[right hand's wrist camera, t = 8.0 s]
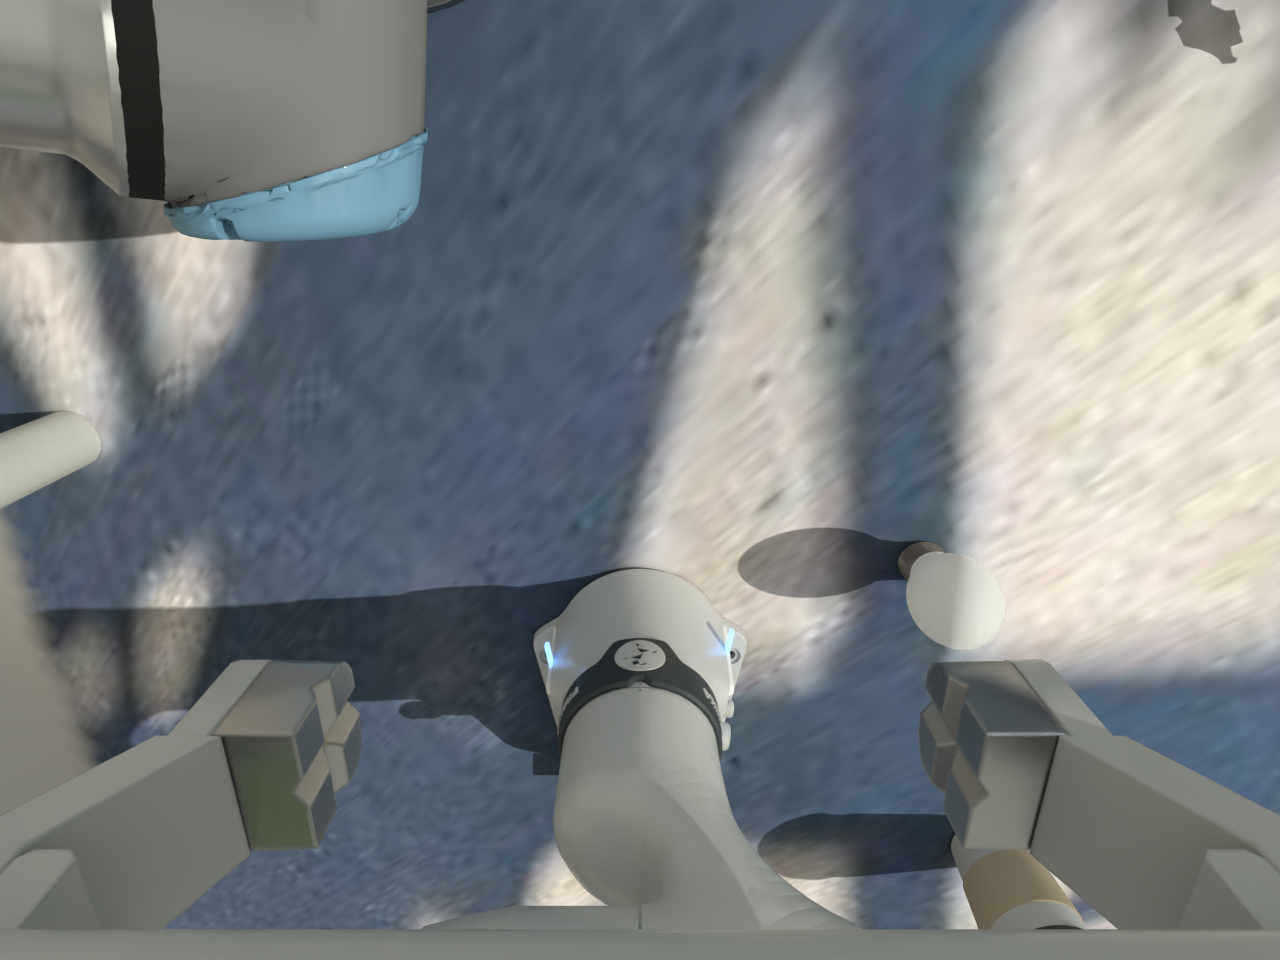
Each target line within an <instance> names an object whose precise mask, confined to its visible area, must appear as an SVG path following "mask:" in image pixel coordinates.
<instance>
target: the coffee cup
mask: <svg viewBox="0 0 1280 960" xmlns="http://www.w3.org/2000/svg"><path fill="white" fill-rule="evenodd" d="M951 851H952V854H953V857H954V860H955V862H956V865H957V867H958V870H959V873H960V875H961V878H962V881H963V888H964V891H965V894H966V896H967V899H968V902H969V904H970V907H971V910H972V913H973V915H974V918H975V921H976V923H977V926H978V929H979V930H1088V929H1087V928H1086V926H1085V925H1084V923H1083V920H1082V918H1081V916H1080V915H1079V913H1078V912H1077V910H1076V909H1075V907H1074V906H1073V905H1072V903H1071V902H1070V900H1069V899H1068V897H1067V896H1066V894H1065V893H1064V892H1063V890H1062V889H1061V887H1060V886H1059V884H1058V883H1057V882H1056V880H1055V879H1054V877H1053V876H1052V874H1051V873H1050V872H1049V870H1048V869H1047V868H1046V867H1044V866H1043V865H1042V864H1041V863H1040V862H1039V861H1037V860H1036V859H1035V858H1034V857H1033V856H1032V855H1030V854H1029V853H1030V850H994V849H963V848H962V846H961V844H960V842H959V840H958V838H957V836H956V834H955V836H954V837H953V840H952V843H951Z"/></svg>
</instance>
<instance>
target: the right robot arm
mask: <svg viewBox="0 0 1280 960" xmlns="http://www.w3.org/2000/svg"><path fill="white" fill-rule="evenodd" d="M533 647H534V650H535V654H536V657H537V661H538V664H539V667H540V671H541V674H542V678H543V681H544V684H545V688H546V693H547V695H548V698H549V701H550V705H551V708H552V712H553V715H554V718H555V722H556V725H557V735H558V754H559V759H560V769H559V777H558V784H557V791H556V799H555V806H554V814H553V830H554V836H555V840H556V844H557V847H558V850H559V852H560V854H561V856H562V858H563V860H564V861H565V863H566V865H567V866H568V868H569V870H570V871H571V872H572V874H573V875H574V877H575V878H576V879H577V881H578V882H579V883H580V884H581V885H582V887H583V888H584V889H585V890H586V891H587V892H589V893H590V894H591V895H593V896H594V897H595V898H597V899H598V900H600V901H602V902H603V903H605V904H606V905H608V906H510V907H505V908H500V909H495V910H491V911H486V912H481V913H476V914H471V915H467V916H463V917H459V918H455V919H451V920H447V921H443V922H439V923H435V924H431V925H427V926H424V927H423V928H421V929H317V930H231V929H163V928H164V927H165V926H166V925H168V924H169V923H170V922H171V921H172V920H174V919H175V918H176V917H177V916H178V915H179V914H181V913H182V912H183V911H184V910H185V909H186V908H188V907H189V906H190V905H191V904H192V903H194V902H195V901H196V900H197V899H198V898H199V897H201V896H202V895H203V894H204V893H205V892H206V891H208V890H209V889H210V888H211V887H212V886H214V885H215V884H216V883H217V882H218V881H219V880H221V879H222V878H223V877H224V876H225V875H226V874H228V873H229V872H230V871H231V870H232V869H234V868H235V867H236V866H237V865H238V864H239V863H241V862H242V861H243V860H244V859H245V858H246V857H248V856H249V855H250V850H284V849H317V848H318V846H319V844H320V842H321V840H322V838H323V836H324V834H325V832H326V830H327V828H328V826H329V824H330V822H331V820H332V818H333V816H334V814H335V812H336V810H337V804H336V799H335V793H336V792H337V791H339V790H340V789H341V788H343V787H344V786H346V785H347V784H348V783H350V781H351V778H352V776H353V774H354V772H355V770H356V768H357V765H358V760H359V755H360V751H361V746H362V725H361V719H360V713H359V712H358V711H357V710H356V709H355V708H354V707H353V706H352V705H351V704H350V703H349V702H348V699H349V697H350V695H351V693H352V692H353V690H354V688H355V683H354V679H353V674H352V669H351V666H350V665H348V664H347V663H346V662H345V661H312V660H238V661H235V662H232V663H230V664H229V665H228V667H227V668H226V669H225V670H224V671H223V672H222V674H221V675H220V676H219V677H218V678H217V679H216V680H215V682H214V683H213V684H212V685H211V686H210V687H209V689H208V690H207V691H206V692H205V693H204V694H203V695H202V697H201V698H200V699H199V700H198V701H197V702H196V703H195V705H194V706H193V707H192V708H191V709H190V710H189V712H188V713H187V714H186V715H185V716H184V717H183V718H182V720H181V721H180V722H179V723H178V724H177V725H176V726H175V728H174V729H173V730H172V731H171V732H170V733H169V735H168V736H154V737H152V738H150V739H149V740H147V741H145V742H143V743H141V744H139V745H137V746H135V747H133V748H131V749H129V750H127V751H125V752H123V753H121V754H119V755H117V756H115V757H113V758H111V759H109V760H107V761H105V762H104V763H102V764H100V765H98V766H96V767H94V768H92V769H90V770H88V771H86V772H84V773H82V774H80V775H78V776H76V777H74V778H72V779H70V780H68V781H66V782H64V783H62V784H61V785H59V786H57V787H55V788H53V789H51V790H49V791H47V792H45V793H43V794H41V795H39V796H37V797H35V798H33V799H31V800H29V801H27V802H25V803H23V804H21V805H19V806H17V807H15V808H14V809H12V810H10V811H8V812H6V813H4V814H2V815H0V960H1280V815H1278V814H1276V813H1274V812H1272V811H1270V810H1268V809H1266V808H1264V807H1262V806H1260V805H1258V804H1256V803H1254V802H1252V801H1250V800H1249V799H1247V798H1245V797H1243V796H1241V795H1239V794H1237V793H1235V792H1233V791H1231V790H1229V789H1227V788H1225V787H1223V786H1221V785H1219V784H1217V783H1215V782H1213V781H1211V780H1210V779H1208V778H1206V777H1204V776H1202V775H1200V774H1198V773H1196V772H1194V771H1192V770H1190V769H1188V768H1186V767H1184V766H1182V765H1180V764H1178V763H1176V762H1174V761H1172V760H1170V759H1169V758H1167V757H1165V756H1163V755H1161V754H1159V753H1157V752H1155V751H1153V750H1151V749H1149V748H1147V747H1145V746H1143V745H1141V744H1139V743H1137V742H1135V741H1133V740H1131V739H1130V738H1128V737H1126V736H1112V735H1111V733H1110V732H1109V731H1108V730H1107V729H1106V728H1105V726H1104V725H1103V724H1102V723H1101V722H1100V721H1099V720H1098V718H1097V717H1096V716H1095V715H1094V714H1093V713H1092V712H1091V710H1090V709H1089V708H1088V707H1087V706H1086V705H1085V703H1084V702H1083V701H1082V700H1081V699H1080V698H1079V697H1078V695H1077V694H1076V693H1075V692H1074V691H1073V690H1072V689H1071V687H1070V686H1069V685H1068V684H1067V683H1066V682H1065V680H1064V679H1063V678H1062V677H1061V676H1060V675H1059V674H1058V672H1057V671H1056V670H1055V669H1054V668H1053V667H1052V666H1051V664H1049V663H1048V662H1046V661H1044V660H1041V659H1029V660H1005V661H977V662H932V664H931V666H930V668H929V670H928V672H927V677H926V683H925V688H926V690H927V692H928V693H929V695H930V697H931V699H932V702H931V703H930V704H929V705H928V706H927V707H926V708H925V709H924V710H923V711H922V712H921V713H920V720H919V727H918V742H919V753H920V757H921V760H922V764H923V768H924V770H925V772H926V774H927V776H928V779H929V781H930V783H932V784H933V785H934V786H936V787H937V788H939V789H940V790H941V791H943V792H944V793H945V799H944V804H943V810H944V812H945V814H946V816H947V818H948V820H949V822H950V824H951V826H952V828H953V830H954V832H955V834H956V836H957V838H958V840H959V842H960V844H961V846H962V848H963V849H994V850H1030V853H1029V854H1030V855H1032V856H1033V857H1034V858H1035V859H1036V860H1037V861H1039V862H1040V863H1041V864H1042V865H1043V866H1044V867H1046V868H1047V869H1048V870H1049V871H1050V872H1051V873H1053V874H1054V875H1055V876H1056V877H1057V878H1059V879H1060V880H1061V881H1062V882H1063V883H1064V884H1066V885H1067V886H1068V887H1069V888H1070V889H1071V890H1073V891H1074V892H1075V893H1076V894H1077V895H1078V896H1080V897H1081V898H1082V899H1083V900H1084V901H1086V902H1087V903H1088V904H1089V905H1090V906H1091V907H1093V908H1094V909H1095V910H1096V911H1097V912H1098V913H1100V914H1101V915H1102V916H1103V917H1104V918H1105V919H1107V920H1108V921H1109V922H1110V923H1111V924H1113V925H1114V926H1115V927H1116V928H1117V929H1100V930H862V929H861V928H860V927H859V926H857V925H856V924H854V923H852V922H850V921H848V920H846V919H844V918H842V917H840V916H838V915H836V914H834V913H832V912H830V911H829V910H827V909H825V908H824V907H822V906H820V905H819V904H817V903H815V902H814V901H812V900H810V899H809V898H808V897H806V896H805V895H804V894H802V893H801V892H799V891H798V890H797V889H795V888H794V887H793V886H792V885H790V884H789V883H788V882H787V881H786V880H784V879H783V878H782V877H781V876H780V875H779V874H778V873H777V872H776V871H775V870H774V869H773V868H771V867H770V866H769V865H768V864H767V863H766V862H765V860H764V859H763V858H762V857H761V856H760V855H759V854H758V853H757V852H756V850H755V849H754V848H753V847H752V846H751V844H750V843H749V842H748V841H747V839H746V838H745V836H744V835H743V833H742V832H741V830H740V829H739V827H738V825H737V823H736V821H735V820H734V818H733V815H732V812H731V809H730V806H729V802H728V798H727V795H726V791H725V786H724V782H723V777H722V772H721V767H720V759H721V754H722V750H723V751H725V750H727V749H728V747H729V743H730V735H731V730H730V725H729V724H728V723H725V719H726V717H727V718H728V717H730V718H731V717H732V716H733V711H734V703H733V701H731V698H732V695H733V693H734V688H735V685H736V681H737V678H738V674H739V671H740V668H741V664H742V661H743V657H744V654H745V651H746V647H747V639H746V634H745V633H744V631H743V630H742V629H740V628H739V627H738V626H736V625H735V624H733V623H731V622H730V621H728V620H726V619H724V618H722V617H721V616H720V615H719V614H718V613H717V611H716V610H715V609H714V607H713V606H712V605H711V603H710V602H709V600H708V599H707V598H706V597H705V596H704V595H703V594H702V593H701V592H700V591H699V590H698V589H697V588H696V587H694V586H693V585H692V584H690V583H689V582H687V581H685V580H683V579H682V578H680V577H677V576H675V575H672V574H670V573H666V572H662V571H658V570H652V569H629V570H622V571H618V572H614V573H610V574H608V575H605V576H603V577H601V578H598V579H597V580H595V581H593V582H591V583H590V584H588V585H587V586H586V587H584V588H583V589H582V590H581V591H580V592H579V593H578V594H577V595H576V596H575V597H574V598H573V599H572V600H571V602H570V603H569V605H568V606H567V607H566V609H565V610H564V611H563V613H562V614H561V615H560V616H559V617H558V618H556V619H554V620H552V621H550V622H549V623H547V624H545V625H544V626H542V627H541V628H540V629H538V630H537V631H536V633H535V634H534V640H533ZM730 651H733V652H734V653H732V654H730ZM639 925H640V926H641V929H639Z"/></svg>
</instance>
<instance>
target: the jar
mask: <svg viewBox="0 0 1280 960" xmlns="http://www.w3.org/2000/svg"><path fill="white" fill-rule="evenodd" d="M100 451H101V440H100V437H99V434H98V432H97V430H96V429H95V427H94V426H93V425H92V424H91V423H90V422H89V421H88V420H87V419H85V418H84V417H82V416H80V415H78V414H76V413H73V412H68V411H59V412H55V413H52V414H49V415H47V416H44V417H42V418H39V419H36V420H34V421H31V422H29V423H26V424H23V425H21V426H18V427H16V428H13V429H11V430H8V431H5V432H3V433H0V509H1V508H3V507H5V506H7V505H9V504H11V503H13V502H15V501H17V500H19V499H21V498H23V497H25V496H27V495H29V494H31V493H33V492H35V491H37V490H39V489H41V488H43V487H45V486H47V485H49V484H51V483H53V482H55V481H57V480H59V479H60V478H62V477H64V476H66V475H68V474H70V473H72V472H74V471H76V470H78V469H80V468H82V467H84V466H86V465H88V464H90V463H92V462H93V461H95V460H96V459H97V457H98V456H99V454H100Z"/></svg>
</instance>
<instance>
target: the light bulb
mask: <svg viewBox="0 0 1280 960" xmlns="http://www.w3.org/2000/svg"><path fill="white" fill-rule="evenodd" d="M898 567H899V570H900V572H901V574H902V575H903V577H904V578H905V580H906V581H907V582H908V583H907V590H906V598H907V605H908V608H909V611H910V613H911V616H912V618H913V619H914V621H915V623H916V624H917V625H918V627H919V628H920V629H921V630H922V631H923V632H924V633H925V634H926V635H927V636H928V637H930V638H931V639H932V640H934V641H936V642H937V643H939V644H941V645H944V646H947V647H949V648H954V649H962V650H967V649H975V648H978V647H981V646H983V645H985V644H987V643H989V642H990V641H991V640H993V639H994V638H995V637H996V636H997V634H998V633H999V631H1000V630H1001V628H1002V625H1003V623H1004V620H1005V615H1006V607H1005V598H1004V595H1003V592H1002V589H1001V587H1000V585H999V583H998V582H997V580H996V579H995V577H994V576H993V575H992V574H991V573H990V572H989V570H988V569H986V568H985V567H984V566H983V565H982V564H980V563H978V562H977V561H975V560H973V559H971V558H969V557H966V556H964V555H959V554H953V553H945V551H944V550H943V549H942V548H941V547H940V546H938V545H936V544H934V543H931V542H919V543H915V544H913V545H910V546H909V547H907V548H906V549H905V550H904V551H903V552H902V553H901V555H900V557H899V559H898Z"/></svg>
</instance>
